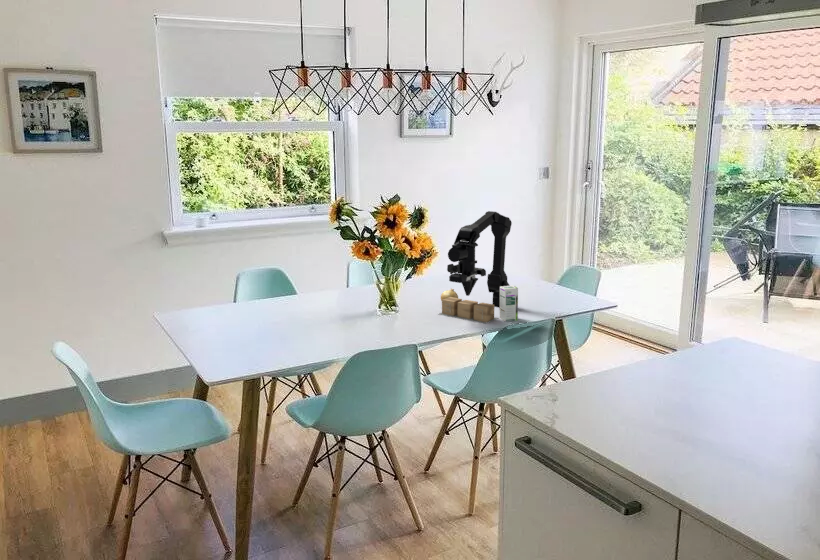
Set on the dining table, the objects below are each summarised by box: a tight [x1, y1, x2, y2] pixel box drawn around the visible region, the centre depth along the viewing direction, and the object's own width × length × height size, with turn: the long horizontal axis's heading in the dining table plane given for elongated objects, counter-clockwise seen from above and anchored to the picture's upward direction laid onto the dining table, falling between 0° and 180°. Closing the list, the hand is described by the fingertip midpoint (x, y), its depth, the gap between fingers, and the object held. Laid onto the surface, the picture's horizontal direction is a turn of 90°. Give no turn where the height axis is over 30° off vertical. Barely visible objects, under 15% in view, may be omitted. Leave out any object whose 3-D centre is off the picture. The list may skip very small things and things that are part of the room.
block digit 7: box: [474, 302, 495, 322], centre depth 281 cm, size 6×6×6 cm
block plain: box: [458, 299, 479, 319], centre depth 286 cm, size 6×6×6 cm
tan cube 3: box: [441, 297, 463, 316], centre depth 291 cm, size 6×6×6 cm
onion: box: [440, 288, 459, 302], centre depth 310 cm, size 8×8×7 cm
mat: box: [437, 312, 500, 325], centre depth 287 cm, size 10×24×1 cm, turn 51°
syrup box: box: [499, 285, 519, 322], centre depth 280 cm, size 6×6×14 cm
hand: (467, 295), depth 284 cm, fingers closed
